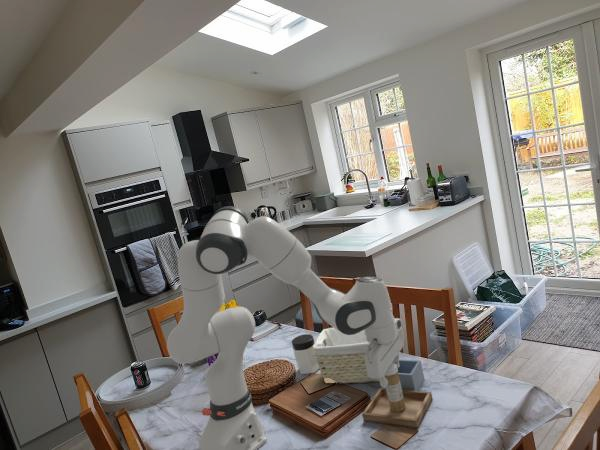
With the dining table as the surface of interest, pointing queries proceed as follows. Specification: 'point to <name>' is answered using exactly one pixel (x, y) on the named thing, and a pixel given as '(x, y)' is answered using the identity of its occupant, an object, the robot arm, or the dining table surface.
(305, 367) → the jar
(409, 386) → the blue-grey square bin
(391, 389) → the sprinkles bottle
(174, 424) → the dining table surface
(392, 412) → the tray
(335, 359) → the storage basket
